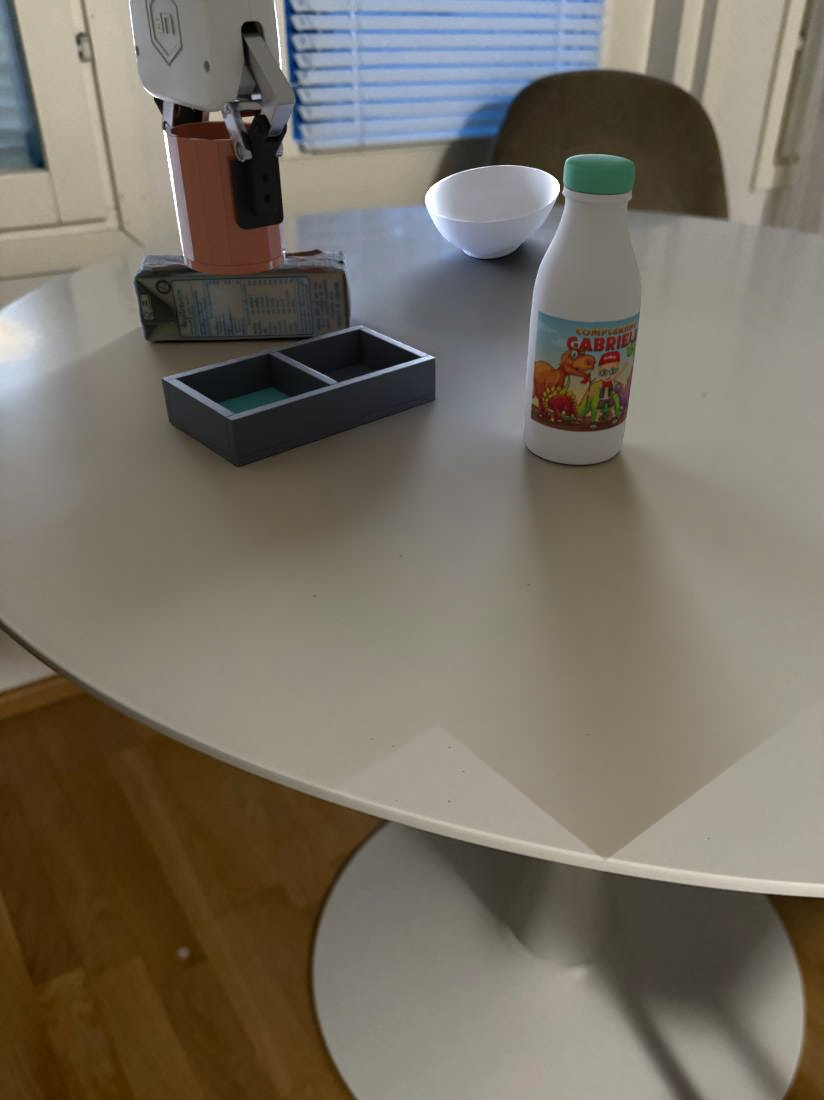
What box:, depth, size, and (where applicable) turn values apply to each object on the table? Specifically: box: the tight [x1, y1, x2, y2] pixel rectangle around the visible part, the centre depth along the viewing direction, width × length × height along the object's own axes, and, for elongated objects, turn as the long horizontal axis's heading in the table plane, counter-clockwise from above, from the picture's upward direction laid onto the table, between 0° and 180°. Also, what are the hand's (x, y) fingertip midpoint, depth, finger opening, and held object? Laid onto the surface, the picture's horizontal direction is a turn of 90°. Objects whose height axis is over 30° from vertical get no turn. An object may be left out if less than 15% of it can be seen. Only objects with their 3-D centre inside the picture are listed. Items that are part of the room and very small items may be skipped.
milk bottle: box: [522, 153, 642, 466], centre depth 67 cm, size 8×8×20 cm
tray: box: [161, 324, 437, 467], centre depth 76 cm, size 10×19×4 cm, turn 133°
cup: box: [163, 120, 286, 275], centre depth 63 cm, size 7×7×8 cm
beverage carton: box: [132, 248, 353, 342], centre depth 90 cm, size 8×19×7 cm, turn 98°
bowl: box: [424, 164, 560, 260], centre depth 116 cm, size 30×15×6 cm, turn 167°
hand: (229, 211), depth 64 cm, fingers closed on cup, 6 cm apart
